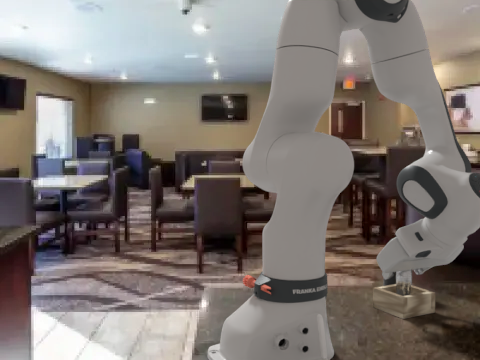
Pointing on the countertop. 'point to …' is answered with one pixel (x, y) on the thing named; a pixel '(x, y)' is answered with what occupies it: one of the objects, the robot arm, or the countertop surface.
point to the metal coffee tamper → (403, 282)
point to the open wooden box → (404, 301)
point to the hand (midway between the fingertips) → (401, 274)
